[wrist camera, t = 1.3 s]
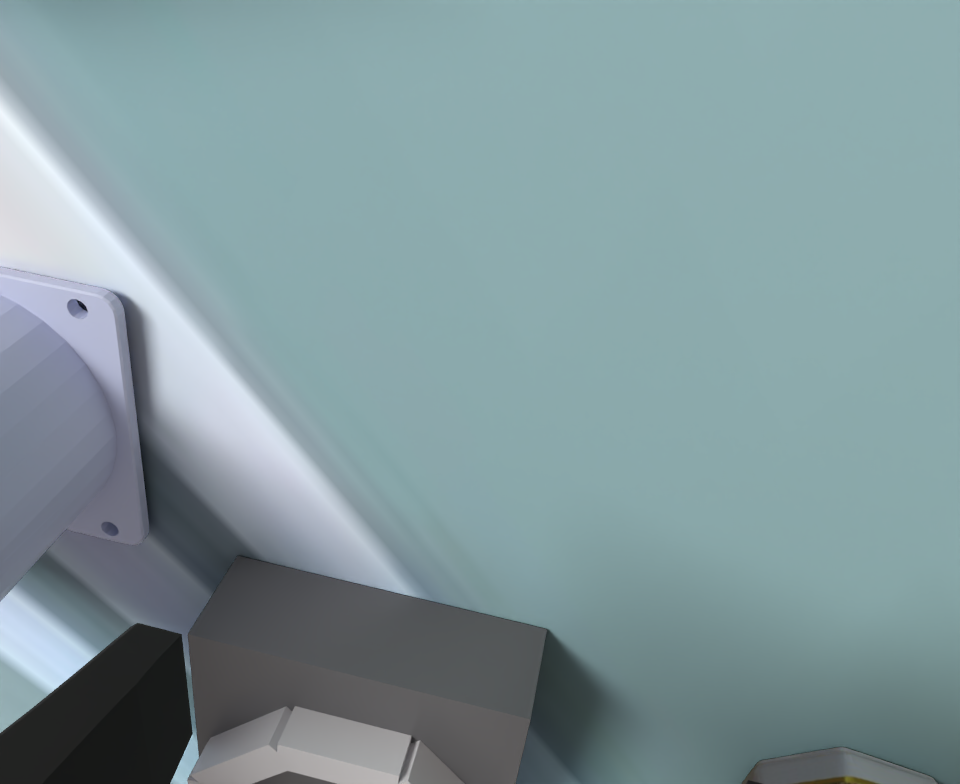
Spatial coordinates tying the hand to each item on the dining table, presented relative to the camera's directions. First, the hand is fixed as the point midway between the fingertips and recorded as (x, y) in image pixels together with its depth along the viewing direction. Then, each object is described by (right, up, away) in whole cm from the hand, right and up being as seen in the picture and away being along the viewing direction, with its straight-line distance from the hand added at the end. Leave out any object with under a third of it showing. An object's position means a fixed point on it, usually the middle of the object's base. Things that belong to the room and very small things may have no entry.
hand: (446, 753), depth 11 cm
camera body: (-3, -6, +17) cm, 18 cm away
